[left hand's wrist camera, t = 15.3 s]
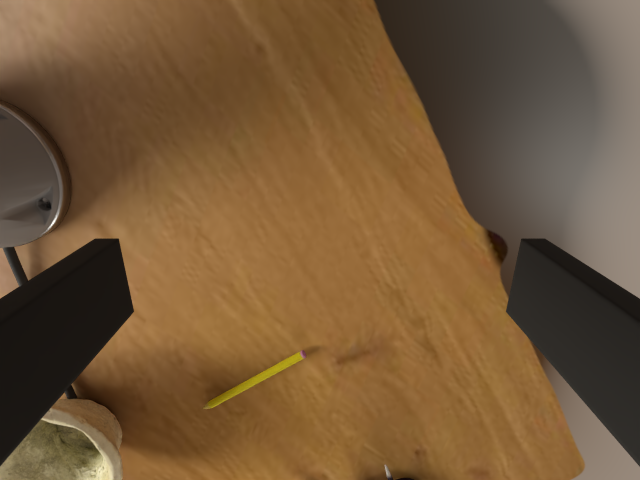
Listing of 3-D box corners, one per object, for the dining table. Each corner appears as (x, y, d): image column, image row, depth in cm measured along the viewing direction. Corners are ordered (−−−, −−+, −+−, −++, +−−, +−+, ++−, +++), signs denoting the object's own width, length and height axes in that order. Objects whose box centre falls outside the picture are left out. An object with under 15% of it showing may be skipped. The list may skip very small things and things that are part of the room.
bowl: (135, 432, 58) (31, 511, 50) (69, 346, 50) (-64, 425, 43) (162, 493, 47) (36, 604, 40) (84, 397, 40) (-89, 512, 32)
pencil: (301, 348, 47) (301, 353, 46) (306, 353, 47) (306, 359, 46) (200, 403, 50) (198, 409, 49) (205, 408, 50) (203, 414, 49)
